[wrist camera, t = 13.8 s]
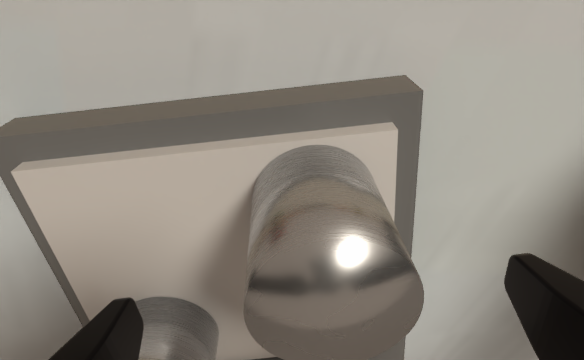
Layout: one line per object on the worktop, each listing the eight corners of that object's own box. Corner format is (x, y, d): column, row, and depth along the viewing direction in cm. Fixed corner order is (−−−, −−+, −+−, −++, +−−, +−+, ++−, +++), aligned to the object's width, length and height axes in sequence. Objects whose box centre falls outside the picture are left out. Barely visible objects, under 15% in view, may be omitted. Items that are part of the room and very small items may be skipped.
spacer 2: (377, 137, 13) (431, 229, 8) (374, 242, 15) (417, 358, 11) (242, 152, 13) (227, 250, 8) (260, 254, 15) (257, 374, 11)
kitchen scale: (405, 75, 14) (438, 103, 12) (392, 336, 22) (410, 393, 19) (14, 118, 15) (-49, 156, 12) (133, 362, 22) (113, 422, 19)
